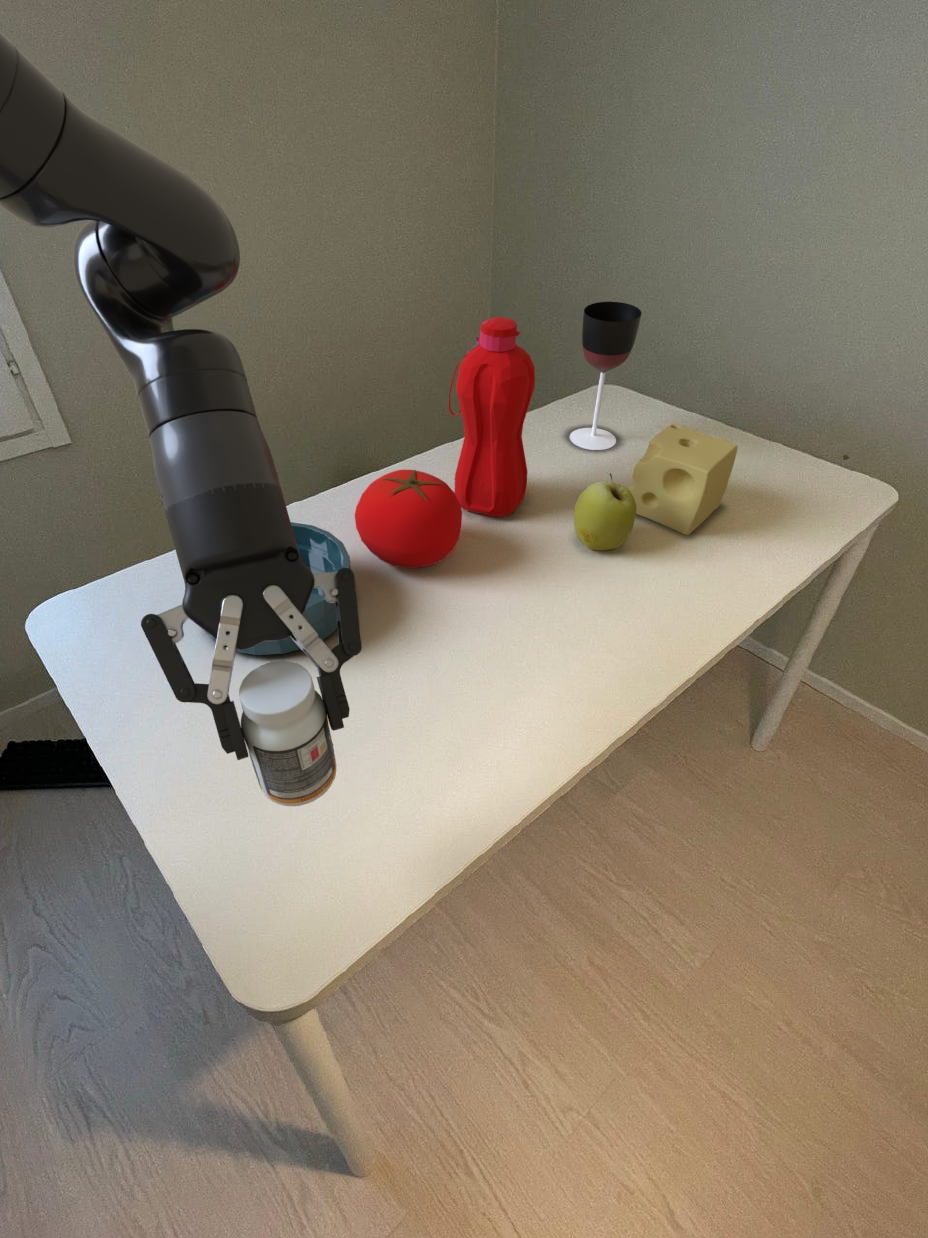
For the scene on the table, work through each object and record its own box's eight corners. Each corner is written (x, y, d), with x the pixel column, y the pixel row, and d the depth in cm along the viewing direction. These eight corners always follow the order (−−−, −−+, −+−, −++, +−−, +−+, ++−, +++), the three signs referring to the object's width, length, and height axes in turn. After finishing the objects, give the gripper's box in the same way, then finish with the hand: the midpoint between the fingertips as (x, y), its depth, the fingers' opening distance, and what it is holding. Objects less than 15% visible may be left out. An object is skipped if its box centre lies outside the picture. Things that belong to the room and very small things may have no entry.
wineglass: (557, 440, 114) (572, 312, 100) (586, 421, 119) (605, 297, 105) (599, 456, 110) (621, 326, 97) (627, 436, 115) (652, 310, 102)
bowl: (214, 678, 74) (201, 636, 70) (191, 581, 86) (179, 540, 82) (373, 634, 79) (369, 594, 75) (331, 549, 91) (326, 509, 87)
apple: (551, 536, 92) (576, 464, 87) (587, 530, 98) (613, 462, 93) (597, 565, 88) (626, 491, 83) (632, 557, 93) (662, 487, 88)
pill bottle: (353, 767, 53) (339, 676, 46) (301, 824, 49) (278, 734, 42) (295, 733, 55) (275, 642, 48) (241, 786, 51) (211, 695, 45)
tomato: (436, 594, 85) (435, 517, 77) (343, 564, 89) (333, 489, 81) (476, 542, 93) (479, 467, 85) (389, 517, 97) (385, 444, 89)
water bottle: (460, 476, 105) (463, 301, 88) (530, 491, 102) (547, 313, 85) (436, 507, 99) (434, 325, 82) (510, 525, 96) (524, 340, 79)
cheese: (622, 510, 99) (635, 446, 92) (659, 480, 105) (673, 417, 98) (690, 539, 94) (709, 473, 87) (724, 505, 100) (744, 442, 94)
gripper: (94, 506, 41) (172, 787, 41) (336, 460, 45) (406, 713, 45) (117, 531, 48) (183, 770, 48) (323, 489, 52) (384, 708, 52)
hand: (291, 741), depth 47 cm, fingers closed on pill bottle, 5 cm apart
